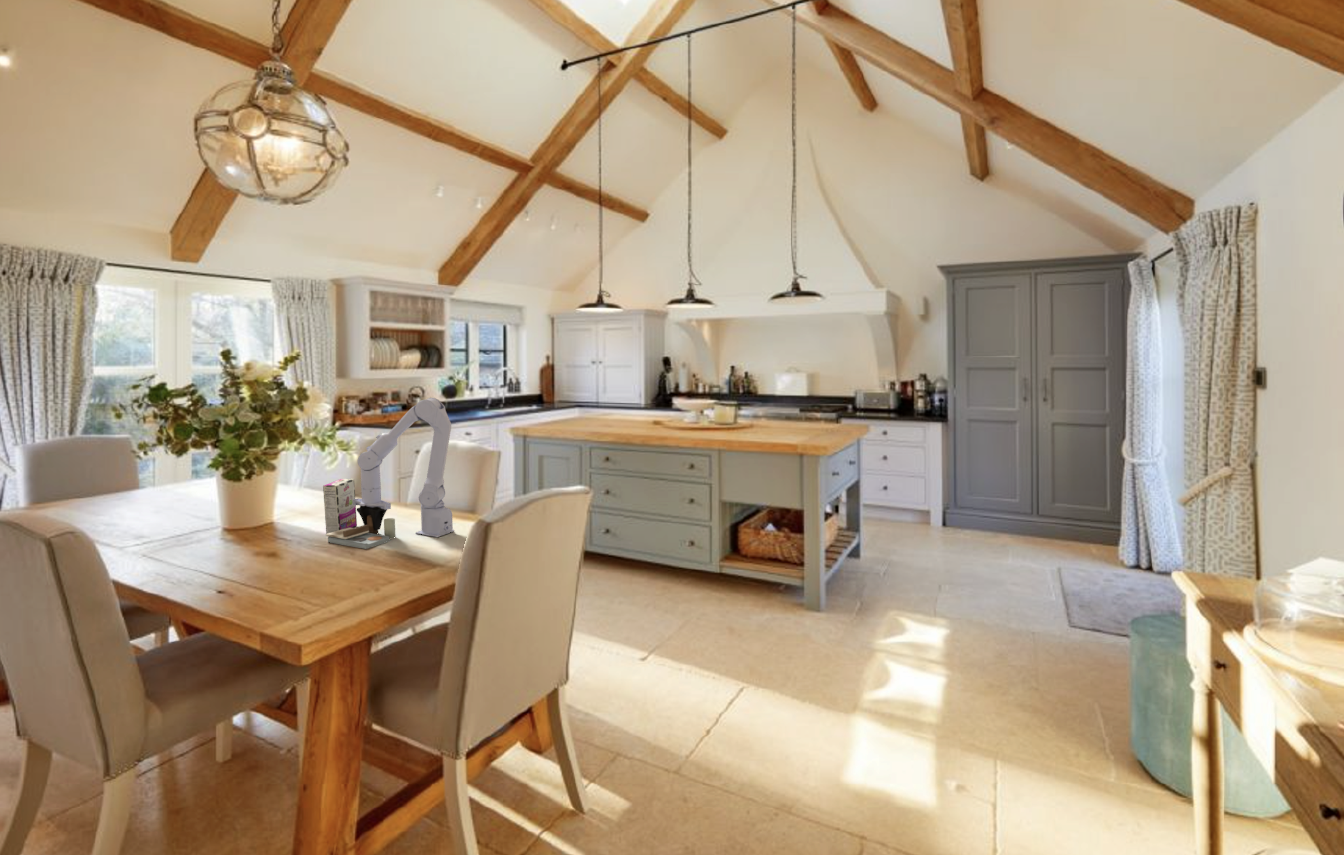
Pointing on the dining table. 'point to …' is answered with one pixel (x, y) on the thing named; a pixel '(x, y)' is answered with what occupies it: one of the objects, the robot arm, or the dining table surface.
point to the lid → (349, 532)
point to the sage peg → (389, 527)
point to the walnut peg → (371, 525)
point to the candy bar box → (339, 505)
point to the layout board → (361, 540)
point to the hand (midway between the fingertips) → (372, 528)
